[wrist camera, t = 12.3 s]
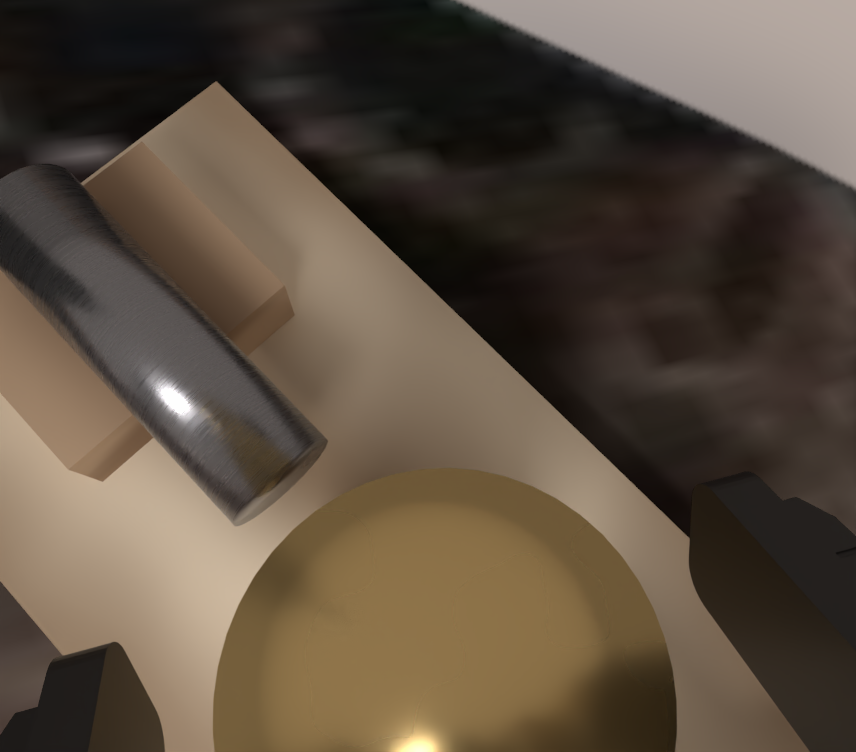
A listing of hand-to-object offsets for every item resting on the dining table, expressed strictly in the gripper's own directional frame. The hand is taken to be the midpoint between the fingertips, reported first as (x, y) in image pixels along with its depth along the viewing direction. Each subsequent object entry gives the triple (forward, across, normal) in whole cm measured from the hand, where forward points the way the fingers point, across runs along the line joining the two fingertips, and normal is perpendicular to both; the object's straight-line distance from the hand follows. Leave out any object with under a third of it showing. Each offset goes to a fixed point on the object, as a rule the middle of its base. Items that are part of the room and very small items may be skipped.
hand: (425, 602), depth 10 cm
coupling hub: (+4, 0, +6) cm, 7 cm away
